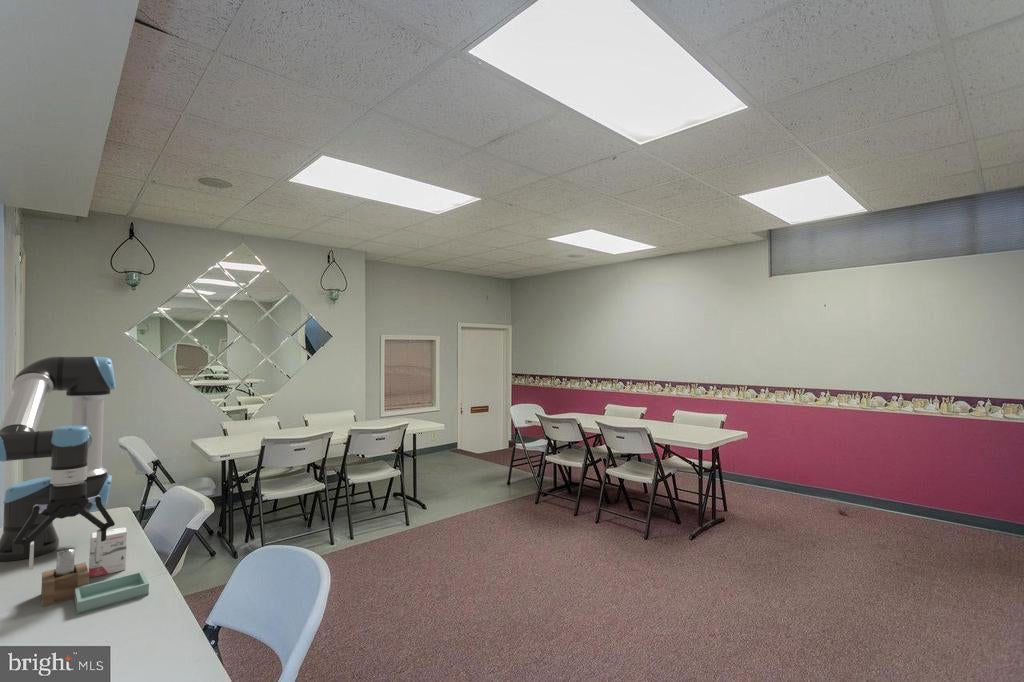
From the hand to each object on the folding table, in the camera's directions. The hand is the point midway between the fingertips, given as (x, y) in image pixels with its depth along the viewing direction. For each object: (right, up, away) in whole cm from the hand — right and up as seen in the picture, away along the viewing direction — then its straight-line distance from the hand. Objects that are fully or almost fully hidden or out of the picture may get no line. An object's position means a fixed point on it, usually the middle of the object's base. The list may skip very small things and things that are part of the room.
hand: (65, 560), depth 132 cm
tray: (+14, -9, -1) cm, 17 cm away
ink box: (0, -10, +14) cm, 17 cm away
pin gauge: (0, -9, 0) cm, 9 cm away
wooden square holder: (0, -9, 0) cm, 9 cm away
